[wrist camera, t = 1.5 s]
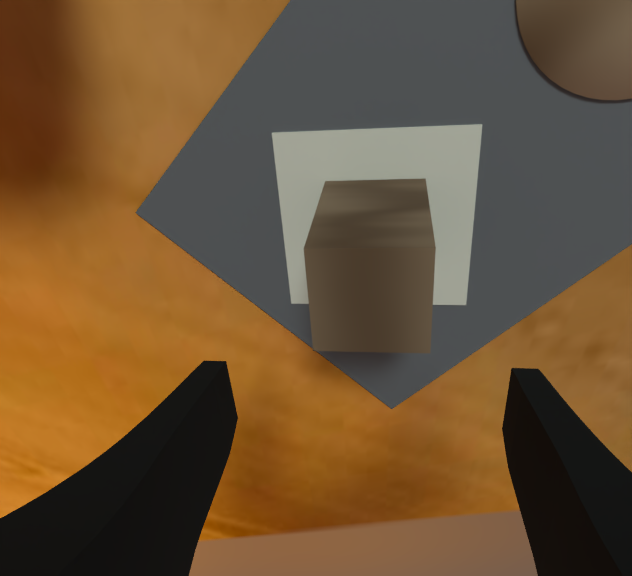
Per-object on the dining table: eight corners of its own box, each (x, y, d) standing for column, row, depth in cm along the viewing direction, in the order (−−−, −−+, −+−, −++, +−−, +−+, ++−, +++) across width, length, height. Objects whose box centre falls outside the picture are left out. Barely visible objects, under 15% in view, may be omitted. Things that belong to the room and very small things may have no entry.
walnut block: (425, 178, 21) (435, 247, 16) (422, 267, 23) (430, 353, 18) (325, 180, 21) (303, 248, 16) (330, 267, 23) (313, 350, 18)
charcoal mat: (941, 28, 16) (944, 28, 16) (391, 407, 28) (391, 408, 28) (640, -479, 12) (641, -481, 12) (136, 212, 23) (135, 212, 23)
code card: (291, 302, 25) (291, 304, 25) (271, 132, 21) (271, 133, 21) (465, 304, 24) (466, 305, 24) (482, 124, 20) (482, 125, 19)
